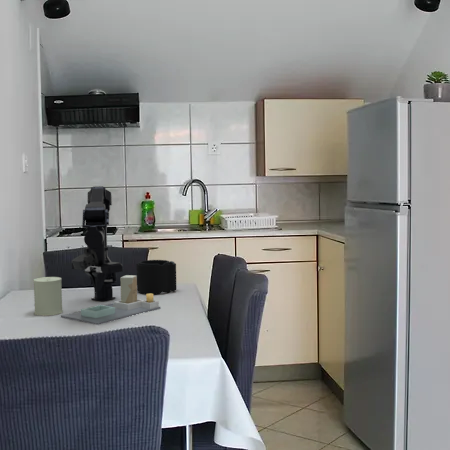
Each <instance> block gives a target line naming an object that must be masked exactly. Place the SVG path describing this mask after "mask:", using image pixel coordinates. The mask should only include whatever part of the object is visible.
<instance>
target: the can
mask: <svg viewBox="0 0 450 450" xmlns="http://www.w3.org/2000/svg"><path fill="white" fill-rule="evenodd" d="M32 280H33V294H34V295H33V296H34V297H33V298H34V300H33V301H34V313H33V314H34V315H35V316H39V317H49V316H51V317H52V316H57V315H60V314H61V315H62V313H63V312H64V310H63V297H62V296H63V294H62V293H63V292H62V277H59V276H45V277H38V278H34V279H32Z"/></svg>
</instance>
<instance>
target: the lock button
mask: <svg viewBox="0 0 450 450" xmlns="http://www.w3.org/2000/svg"><path fill="white" fill-rule="evenodd" d="M145 296H146V297H145V298H146V300H145V301H146V302H148V303H152V302H154V301H155V300H154V295H153V294H152V293H149V294H145ZM153 300H154V301H153Z"/></svg>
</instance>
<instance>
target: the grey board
mask: <svg viewBox="0 0 450 450" xmlns="http://www.w3.org/2000/svg"><path fill="white" fill-rule="evenodd" d="M143 301H146V300H145V299H139V298H137V302H133V303H129V304H127V303H121V299H120V300H115V301H113V302H112V303H109V304H106V305H103V304H98V305H95V306H90V307H86V308H81V309H80V310H79V311H74V312H70V313H66V314H61V315H60V318H62V319H67V320H72V321H75V322H76V321H77V322H81V323H82V322H84V323H85V324H87V323H88V324H92V325H98V326H99V325H102V324H105V323H106V324H107V323H110V321H111V322H113V321H114V320H115V321H117V320H118V321H119V320H121V319H125V318H129V316H130V317H133V316H132V315H134V316H137V315H136V314H138V315H140V314H139V313H142V314H144V313H143V312H145V313H149V312H153V311H157V310H160V309H161V306H159V307H157V308H153V309H146V308H141V302H143ZM152 310H153V311H152ZM148 311H149V312H148Z"/></svg>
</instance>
